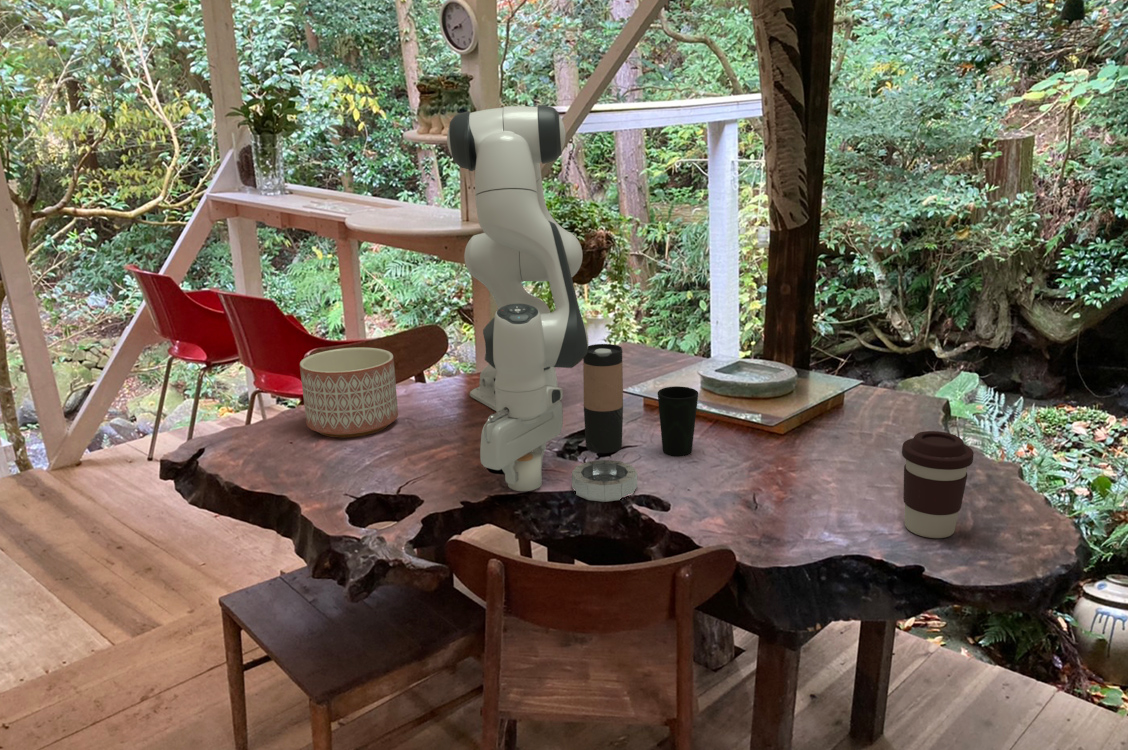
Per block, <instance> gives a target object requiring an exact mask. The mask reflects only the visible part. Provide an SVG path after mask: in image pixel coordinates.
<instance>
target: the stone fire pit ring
mask: <svg viewBox="0 0 1128 750" xmlns="http://www.w3.org/2000/svg"><path fill="white" fill-rule="evenodd" d="M572 487H573V488H574V489H575V491H576V494H575V495H576V496H578V497H579V498H582V499H585V500H587V501H595V502H602V503H605V502H606V503H607V502H613V501H621V500H620V499H621V498H622V497H624V496H626V495H628V494H631V493H634V491H635V489H636V487H637V488H638V471H637V470H636V468H635V467H634V466H633V465H632V464H629V463H626V462H623V461H620V460H613V459H599V460H589V461H585V462H584V463H582V464H578V465H576V466H575V468H574V469H573V470H572V472H571V488H572ZM636 490H637V489H636ZM635 492H636V491H635ZM634 494H635V493H634Z"/></svg>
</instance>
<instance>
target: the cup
mask: <svg viewBox="0 0 1128 750" xmlns="http://www.w3.org/2000/svg"><path fill="white" fill-rule="evenodd" d="M698 399H699V391H697V389H695V388H692V387H687V386H676V385H675V386H666V387H663V388H660V389H659V390H658V391H657V402H658V410H659V411H658V413H659V422H660V423H659V425H660V426H659V427H660V434H661V435H660V436H661V445H662V452H663V454H664V455H666V456H668V457H672V458H673V457H675V458H682V457H688V456H690V455H691V454H692V452H693V446H694V445H693V443H694V442H693V441H694V435H695V425H696V418H697V410H698Z"/></svg>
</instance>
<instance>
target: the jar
mask: <svg viewBox="0 0 1128 750" xmlns="http://www.w3.org/2000/svg"><path fill="white" fill-rule="evenodd" d="M513 469H514V471H515V472H518V478H519V480H518V481H517V482H516V483H514V484H509V483H507V486H508V488H509V489H511V490H513V491H517V492H528V491H529V492H530V491H534V490H537V489H539V488H540V487H542V484H543V483H542V482H543V479H542V476H543V475H542V466H541V456H540V455H539V454H538V453H535V452H533V451H531V452H529V453H527V454H526V455H524V456H522V457H520V458H519V459H517V460H515V465H514V466H513Z"/></svg>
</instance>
